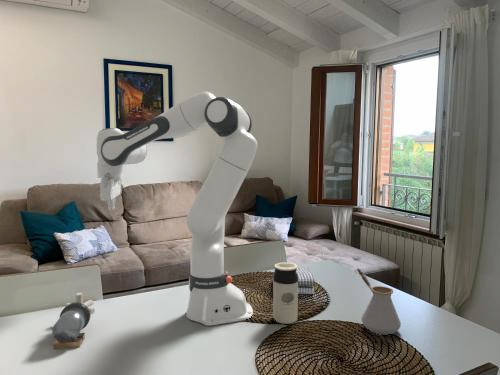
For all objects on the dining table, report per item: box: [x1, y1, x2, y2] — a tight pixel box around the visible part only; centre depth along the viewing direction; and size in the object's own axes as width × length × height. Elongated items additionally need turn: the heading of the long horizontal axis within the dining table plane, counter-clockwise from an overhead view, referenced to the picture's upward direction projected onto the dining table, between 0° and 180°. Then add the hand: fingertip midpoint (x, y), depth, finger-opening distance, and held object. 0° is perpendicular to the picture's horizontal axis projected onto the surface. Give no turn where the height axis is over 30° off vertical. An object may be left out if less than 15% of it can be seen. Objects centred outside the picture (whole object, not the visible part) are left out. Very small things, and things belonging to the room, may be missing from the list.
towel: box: [274, 267, 316, 295], centre depth 156 cm, size 15×18×8 cm
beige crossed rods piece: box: [64, 292, 96, 315], centre depth 122 cm, size 10×10×10 cm
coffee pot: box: [354, 268, 402, 336], centre depth 124 cm, size 21×12×15 cm, turn 13°
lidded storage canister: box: [51, 301, 92, 350], centre depth 112 cm, size 10×8×9 cm
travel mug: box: [272, 262, 299, 325], centre depth 126 cm, size 8×8×18 cm
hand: (111, 209), depth 144 cm, fingers closed
